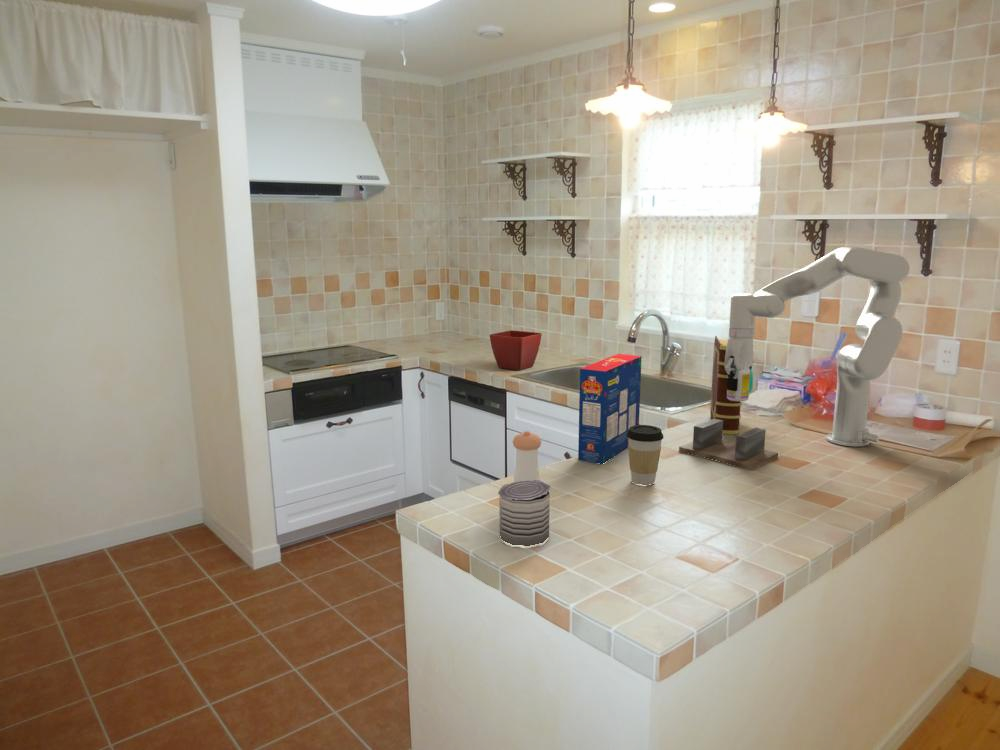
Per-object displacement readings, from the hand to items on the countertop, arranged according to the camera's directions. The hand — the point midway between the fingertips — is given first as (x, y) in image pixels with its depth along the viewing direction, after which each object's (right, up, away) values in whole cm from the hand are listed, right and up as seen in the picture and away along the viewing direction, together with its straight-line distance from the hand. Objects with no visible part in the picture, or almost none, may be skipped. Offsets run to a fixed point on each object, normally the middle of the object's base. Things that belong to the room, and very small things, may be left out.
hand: (738, 388), depth 225 cm
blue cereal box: (-42, -19, -5) cm, 46 cm away
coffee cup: (-37, -25, -33) cm, 55 cm away
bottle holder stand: (-7, -20, -10) cm, 24 cm away
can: (-71, -33, -66) cm, 102 cm away
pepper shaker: (-69, -29, -48) cm, 89 cm away
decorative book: (+2, -14, +21) cm, 25 cm away
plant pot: (-68, +8, +123) cm, 140 cm away
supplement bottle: (0, -4, +1) cm, 4 cm away
